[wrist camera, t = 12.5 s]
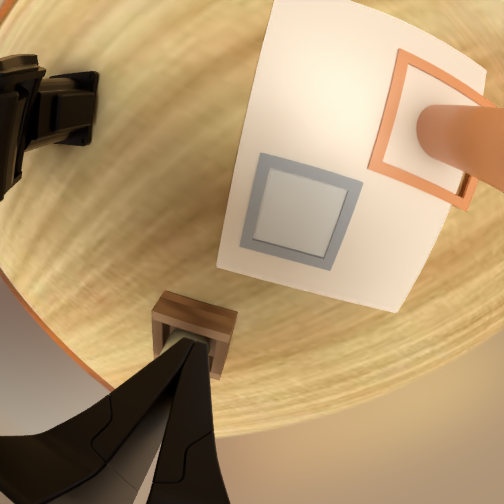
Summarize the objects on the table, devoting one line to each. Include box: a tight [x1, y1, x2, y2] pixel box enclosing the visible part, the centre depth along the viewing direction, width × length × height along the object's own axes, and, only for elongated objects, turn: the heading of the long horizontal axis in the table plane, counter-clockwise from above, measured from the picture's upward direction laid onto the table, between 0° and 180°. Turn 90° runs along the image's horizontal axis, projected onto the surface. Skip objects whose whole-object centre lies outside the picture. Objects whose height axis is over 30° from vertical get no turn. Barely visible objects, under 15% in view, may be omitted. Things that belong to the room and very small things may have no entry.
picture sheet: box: [216, 0, 497, 313], centre depth 17 cm, size 18×22×1 cm
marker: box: [416, 104, 504, 193], centre depth 9 cm, size 4×4×12 cm
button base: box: [152, 291, 237, 380], centre depth 25 cm, size 7×7×3 cm
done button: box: [160, 329, 210, 355], centre depth 23 cm, size 4×4×4 cm
